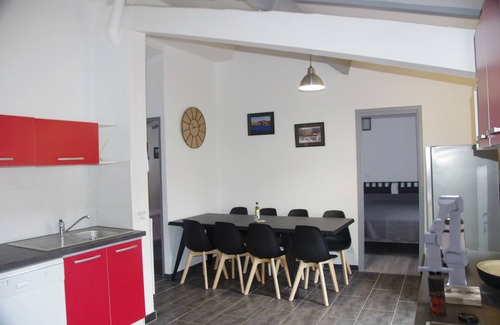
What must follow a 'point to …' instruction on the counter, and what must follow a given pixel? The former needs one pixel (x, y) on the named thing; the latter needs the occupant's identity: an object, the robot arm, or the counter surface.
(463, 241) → the coffee press
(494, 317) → the counter surface
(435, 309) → the spice jar
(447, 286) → the ball
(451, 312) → the counter surface
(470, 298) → the block
